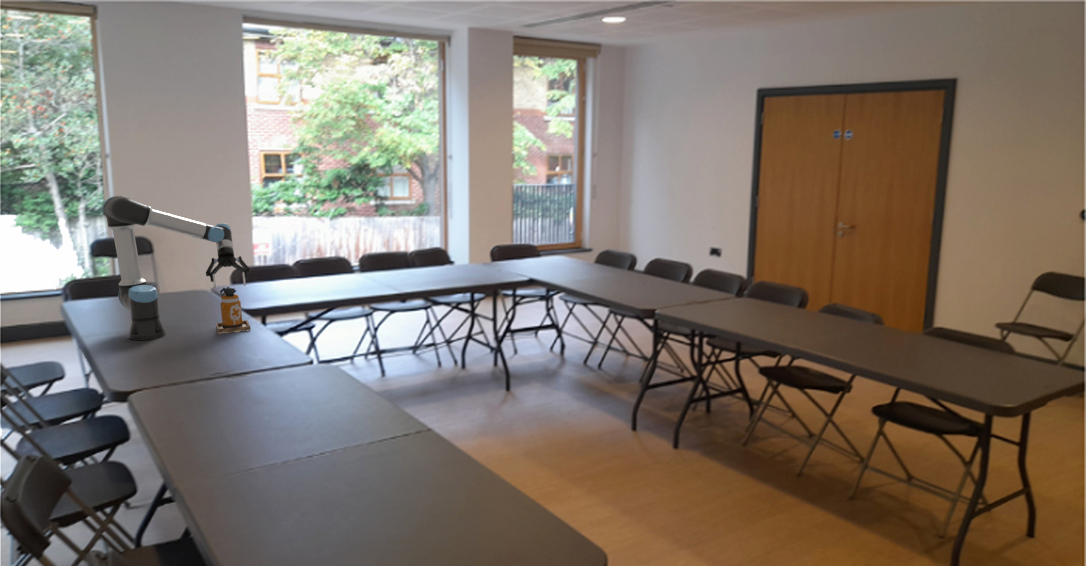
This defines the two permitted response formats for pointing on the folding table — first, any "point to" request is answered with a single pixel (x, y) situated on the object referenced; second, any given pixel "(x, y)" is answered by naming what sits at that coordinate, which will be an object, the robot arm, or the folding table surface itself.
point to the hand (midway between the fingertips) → (229, 285)
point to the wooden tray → (236, 329)
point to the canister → (230, 308)
